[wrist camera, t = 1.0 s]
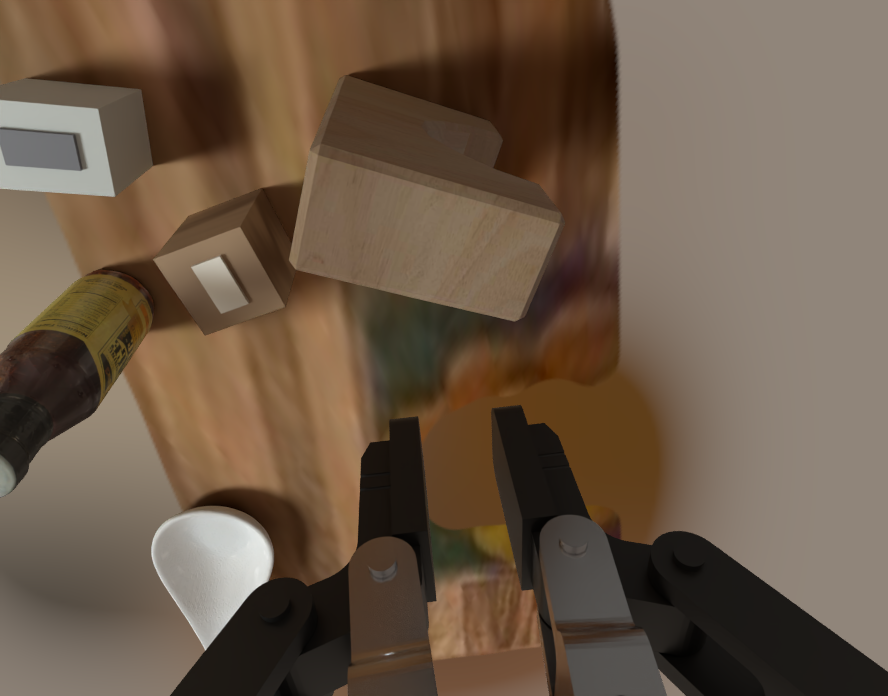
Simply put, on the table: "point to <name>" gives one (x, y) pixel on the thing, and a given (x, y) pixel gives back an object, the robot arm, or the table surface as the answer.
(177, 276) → the walnut marked block
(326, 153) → the decorative block
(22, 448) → the sauce bottle
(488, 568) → the table surface
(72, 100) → the grey marked block
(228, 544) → the spoon rest
